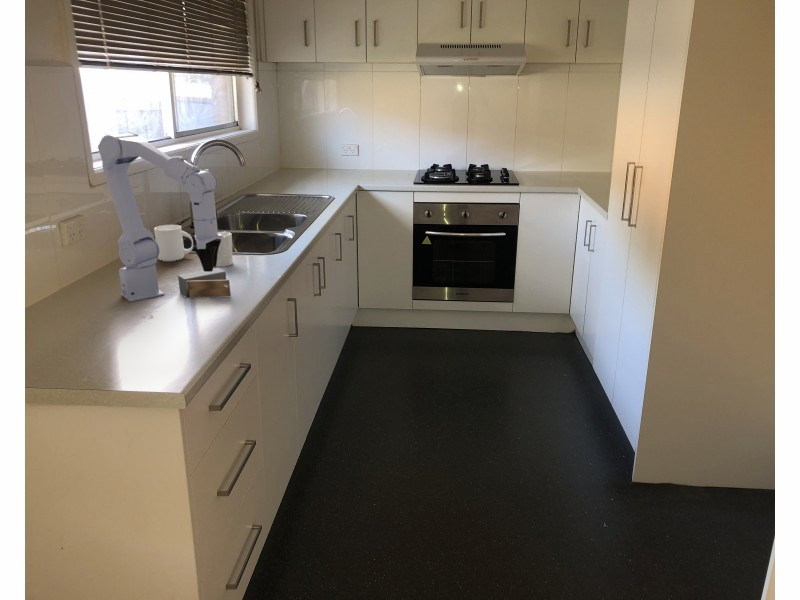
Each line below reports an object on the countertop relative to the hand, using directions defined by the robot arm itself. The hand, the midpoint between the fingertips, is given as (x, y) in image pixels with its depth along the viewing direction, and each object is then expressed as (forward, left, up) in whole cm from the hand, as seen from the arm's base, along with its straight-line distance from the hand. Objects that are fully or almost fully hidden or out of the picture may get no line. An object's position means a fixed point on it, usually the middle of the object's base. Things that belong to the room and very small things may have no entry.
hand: (210, 268), depth 169 cm
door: (+1, +6, -10) cm, 11 cm away
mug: (+10, +53, -10) cm, 55 cm away
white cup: (+18, +36, -10) cm, 41 cm away
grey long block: (+2, +12, -10) cm, 16 cm away
